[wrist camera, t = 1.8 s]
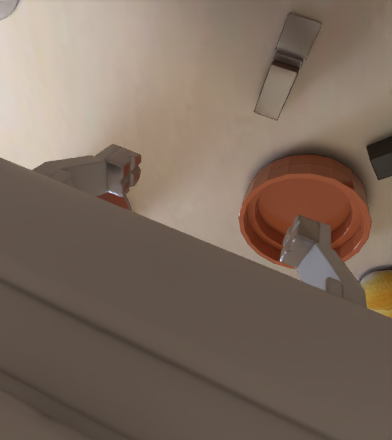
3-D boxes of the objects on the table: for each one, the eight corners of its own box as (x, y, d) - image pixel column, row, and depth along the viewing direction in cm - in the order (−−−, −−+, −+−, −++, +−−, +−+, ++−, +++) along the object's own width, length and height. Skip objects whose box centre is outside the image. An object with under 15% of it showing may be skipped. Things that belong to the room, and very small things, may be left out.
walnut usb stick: (282, 111, 30) (279, 121, 27) (256, 101, 30) (251, 111, 28) (321, 22, 24) (321, 26, 22) (289, 12, 24) (285, 15, 22)
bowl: (229, 211, 41) (220, 233, 37) (287, 129, 31) (282, 148, 27) (312, 258, 41) (311, 284, 37) (395, 192, 31) (405, 220, 27)
